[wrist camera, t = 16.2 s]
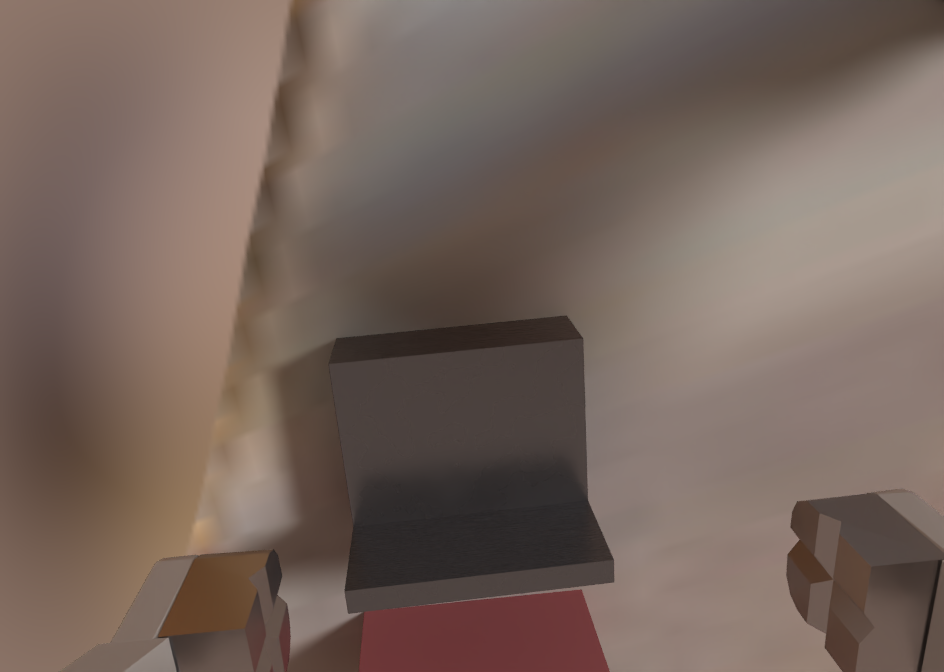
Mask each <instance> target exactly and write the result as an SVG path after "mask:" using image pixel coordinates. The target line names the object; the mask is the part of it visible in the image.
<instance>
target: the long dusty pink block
mask: <svg viewBox="0 0 944 672" xmlns="http://www.w3.org/2000/svg"><path fill="white" fill-rule="evenodd" d="M359 672H610V671H609V668H608V665H607V663H606V660H605V657H604V654H603V651H602V648H601V645H600V642H599V639H598V636H597V633H596V631H595V628H594V625H593V622H592V619H591V616H590V613H589V610H588V607H587V604H586V601H585V598H584V596H583V593H582V590H573V591H563V592H553V593H543V594H534V595H524V596H514V597H504V598H494V599H484V600H474V601H464V602H455V603H445V604H435V605H425V606H415V607H405V608H395V609H385V610H376V611H367V612H364V621H363V632H362V642H361V653H360V664H359Z"/></svg>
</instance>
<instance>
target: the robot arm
mask: <svg viewBox="0 0 944 672" xmlns="http://www.w3.org/2000/svg"><path fill="white" fill-rule="evenodd" d="M790 527H791V529H792V530H793V531H794V533H795V534H796V535H797V537H798V538H799V539H800V540H799V541H798V542H797V544H796V545H795V546H794V547H793V548H792V550H791V551H790V552H789V553H788V556H787V572H786V576H787V581H788V585H789V590H790V595H791V597H792V599H793V602H794V604H795V606H796V608H797V610H798V612H799V613H800V614H801V616H802V617H803V619H804V620H805V621H806V623H807V624H809V625H811V626H813V627H815V628H817V629H818V630H820V631H822V632H824V633H826V640H825V649H826V650H827V651H828V653H829V654H830V655H831V657H832V658H833V659H834V661H835V662H836V663H837V665H838V666H839V667H840V669H841V670H842V671H843V672H944V516H943V515H941V514H940V513H939V512H938V511H936V510H935V509H934V508H933V507H931V506H930V505H929V504H928V503H926V502H925V501H924V500H923V499H921V498H920V497H919V496H918V495H916V494H915V493H914V492H912V491H908V490H905V489H894V490H886V491H879V492H871V493H867V494H860V495H851V496H842V497H833V498H824V499H815V500H806V501H797V503H796V505H795V507H794V509H793V511H792V518H791V526H790ZM281 578H282V573H281V568H280V563H279V558H278V555H277V553H276V552H275V551H274V549H273V550H259V551H245V552H232V553H218V554H204V555H200V556H198V555H190V556H180V557H171V558H163V559H161V560H159V561H157V562H156V563H155V564H154V566H153V568H152V569H151V571H150V573H149V575H148V576H147V578H146V580H145V582H144V584H143V585H142V587H141V589H140V591H139V592H138V594H137V596H136V598H135V600H134V601H133V603H132V605H131V607H130V609H129V610H128V612H127V614H126V616H125V617H124V619H123V621H122V623H121V625H120V627H119V628H118V630H117V632H116V634H115V635H114V637H113V639H112V641H111V642H110V643H107V644H98V645H97V646H95V647H94V648H92V649H91V650H89V651H88V652H87V653H85V654H84V655H82V656H81V657H79V658H78V659H76V660H75V661H74V662H72V663H71V664H69V665H68V666H66V667H65V668H64V669H62V670H61V671H59V672H287V667H288V662H289V653H290V637H291V636H290V621H289V613H288V607H287V603H286V602H285V601H284V600H283V599H282V598H280V597H279V596H278V595H277V593H278V590H279V586H280V582H281Z"/></svg>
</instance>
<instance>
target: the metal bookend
mask: <svg viewBox="0 0 944 672" xmlns="http://www.w3.org/2000/svg"><path fill="white" fill-rule="evenodd" d="M329 370H330V377H331V383H332V390H333V396H334V403H335V409H336V416H337V423H338V429H339V436H340V442H341V449H342V455H343V462H344V468H345V475H346V481H347V488H348V494H349V501H350V507H351V514H352V520H353V534H352V541H351V548H350V555H349V563H348V570H347V577H346V584H345V597H346V603H347V609H348V614H350V613H359V612H367V611H376V610H384V609H392V608H401V607H409V606H418V605H426V604H435V603H443V602H452V601H460V600H469V599H477V598H485V597H494V596H502V595H511V594H519V593H528V592H536V591H545V590H553V589H562V588H570V587H579V586H587V585H595V584H604V583H612V582H614V559H613V557H612V555H611V552H610V550H609V548H608V545H607V543H606V541H605V538H604V536H603V534H602V532H601V529H600V527H599V525H598V522H597V520H596V518H595V515H594V513H593V511H592V509H591V506H590V504H589V502H588V488H587V454H586V421H585V387H584V354H583V338H582V336H581V335H580V334H579V332H578V331H577V329H576V328H575V326H574V325H573V324H572V322H571V321H570V319H569V318H568V317H567V316H559V317H549V318H539V319H529V320H518V321H508V322H498V323H488V324H478V325H468V326H458V327H448V328H438V329H428V330H418V331H408V332H397V333H387V334H377V335H367V336H357V337H347V338H337V339H336V342H335V345H334V348H333V352H332V355H331V358H330V361H329Z"/></svg>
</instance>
